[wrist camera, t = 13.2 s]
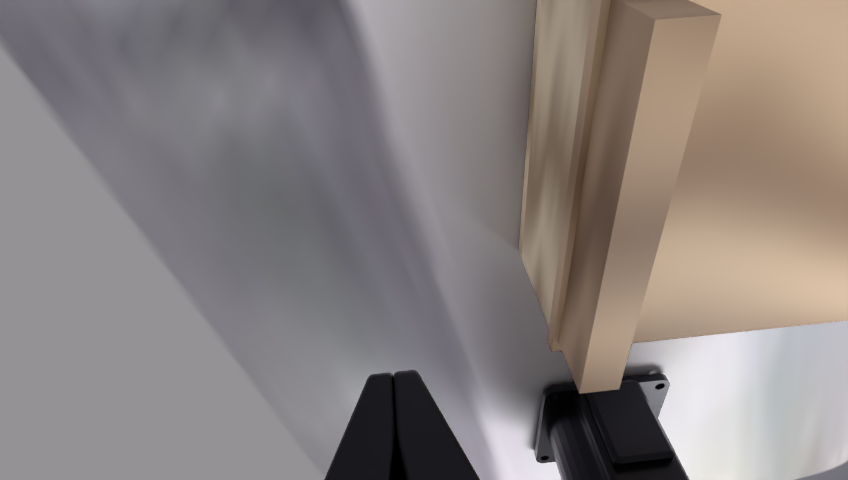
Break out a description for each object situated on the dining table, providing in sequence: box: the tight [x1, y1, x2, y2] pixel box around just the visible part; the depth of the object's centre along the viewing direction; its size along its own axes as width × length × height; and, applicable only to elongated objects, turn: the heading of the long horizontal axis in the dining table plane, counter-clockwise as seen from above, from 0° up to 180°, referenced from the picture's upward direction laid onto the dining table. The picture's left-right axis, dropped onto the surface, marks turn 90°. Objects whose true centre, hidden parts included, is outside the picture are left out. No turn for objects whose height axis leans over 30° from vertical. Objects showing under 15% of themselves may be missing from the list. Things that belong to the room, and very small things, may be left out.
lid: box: [547, 0, 848, 394], centre depth 13 cm, size 11×10×2 cm
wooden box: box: [519, 0, 592, 327], centre depth 16 cm, size 11×10×4 cm
